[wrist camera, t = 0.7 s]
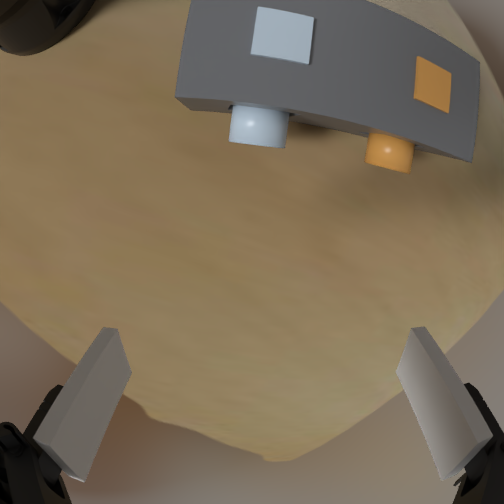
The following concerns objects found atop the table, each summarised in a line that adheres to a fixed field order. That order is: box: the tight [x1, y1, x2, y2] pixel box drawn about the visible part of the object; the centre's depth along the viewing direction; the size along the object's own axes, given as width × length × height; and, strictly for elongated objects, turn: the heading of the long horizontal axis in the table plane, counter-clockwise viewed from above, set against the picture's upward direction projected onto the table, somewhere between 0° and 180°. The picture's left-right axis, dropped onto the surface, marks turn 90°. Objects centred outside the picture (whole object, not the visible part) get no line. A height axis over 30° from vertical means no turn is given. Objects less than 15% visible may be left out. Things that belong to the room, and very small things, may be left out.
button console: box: [175, 0, 480, 163], centre depth 21 cm, size 10×24×12 cm, turn 83°
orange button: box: [364, 133, 415, 174], centre depth 23 cm, size 4×4×4 cm
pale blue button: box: [229, 105, 290, 148], centre depth 21 cm, size 4×4×4 cm
